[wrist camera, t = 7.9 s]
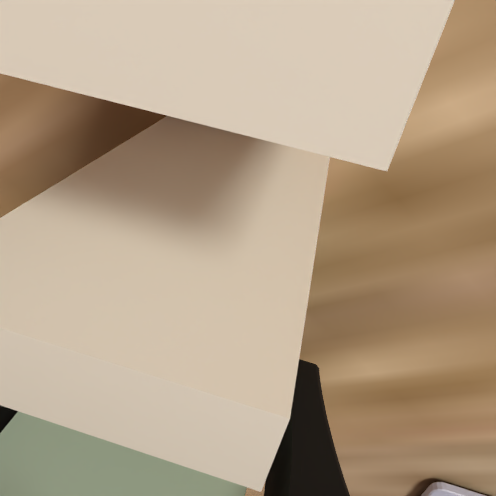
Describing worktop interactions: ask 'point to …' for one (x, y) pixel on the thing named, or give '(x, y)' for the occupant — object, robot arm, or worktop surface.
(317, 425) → the robot arm
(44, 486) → the domino
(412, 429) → the worktop surface
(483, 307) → the worktop surface
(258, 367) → the domino
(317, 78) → the domino
